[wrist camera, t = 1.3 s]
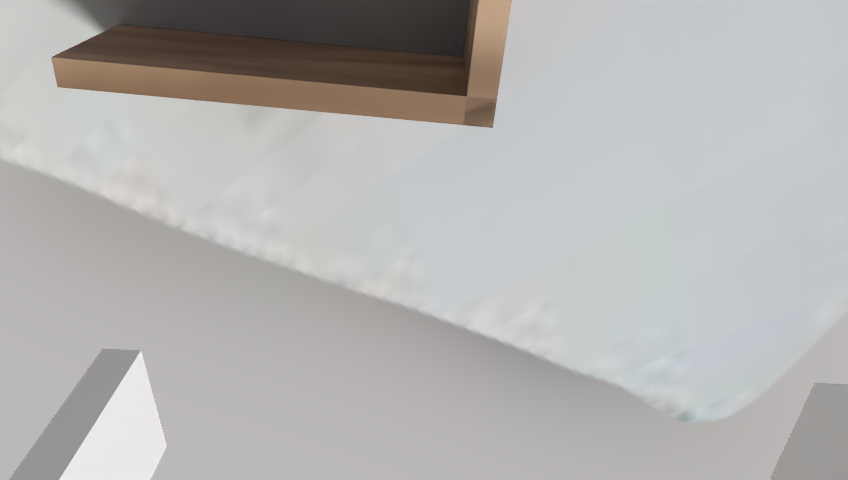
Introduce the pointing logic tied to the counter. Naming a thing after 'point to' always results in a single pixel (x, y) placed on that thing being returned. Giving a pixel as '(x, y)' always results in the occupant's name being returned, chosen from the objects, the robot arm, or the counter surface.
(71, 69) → the walnut bay
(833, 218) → the counter surface
